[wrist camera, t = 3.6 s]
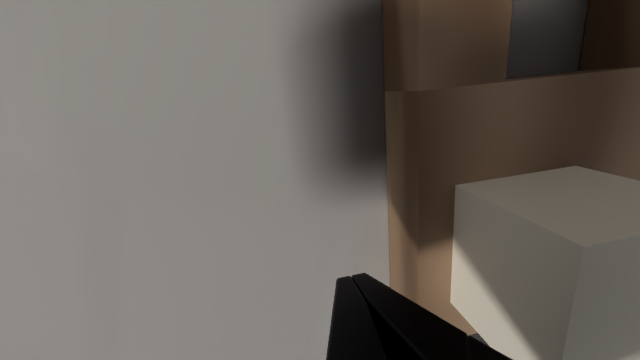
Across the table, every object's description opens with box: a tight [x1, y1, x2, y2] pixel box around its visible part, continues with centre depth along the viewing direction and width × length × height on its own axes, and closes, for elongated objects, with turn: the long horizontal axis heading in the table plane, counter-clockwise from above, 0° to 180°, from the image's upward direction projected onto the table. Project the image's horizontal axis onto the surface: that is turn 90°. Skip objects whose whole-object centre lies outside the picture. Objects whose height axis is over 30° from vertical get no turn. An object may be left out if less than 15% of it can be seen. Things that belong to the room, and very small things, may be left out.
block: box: [450, 166, 640, 360], centre depth 9 cm, size 4×4×4 cm
